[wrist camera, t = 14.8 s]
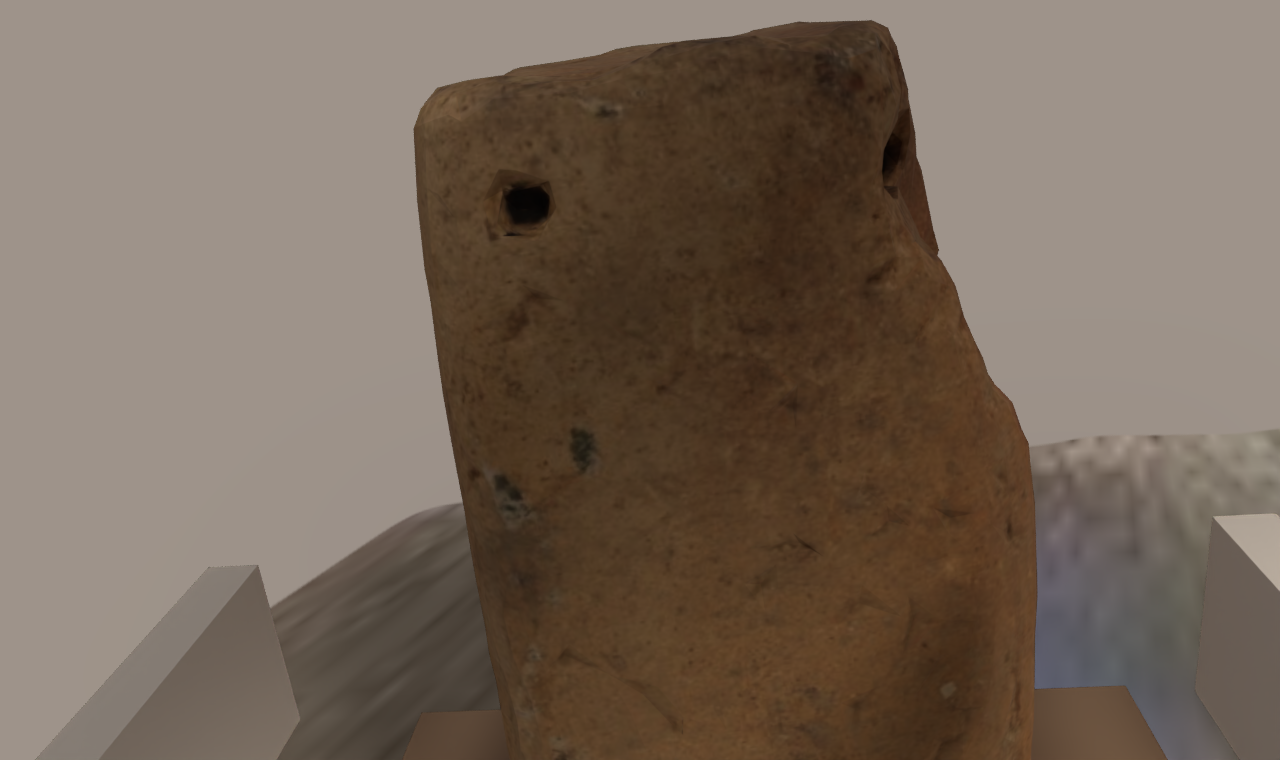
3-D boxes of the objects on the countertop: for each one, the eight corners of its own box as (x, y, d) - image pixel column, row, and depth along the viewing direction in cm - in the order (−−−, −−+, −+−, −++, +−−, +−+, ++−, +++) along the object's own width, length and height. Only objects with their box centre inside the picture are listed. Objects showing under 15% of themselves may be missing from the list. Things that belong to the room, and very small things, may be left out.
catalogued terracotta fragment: (541, 1055, 22) (342, 83, 15) (567, 795, 29) (442, 54, 22) (1059, 1021, 21) (1111, -5, 14) (957, 765, 28) (958, -5, 21)
